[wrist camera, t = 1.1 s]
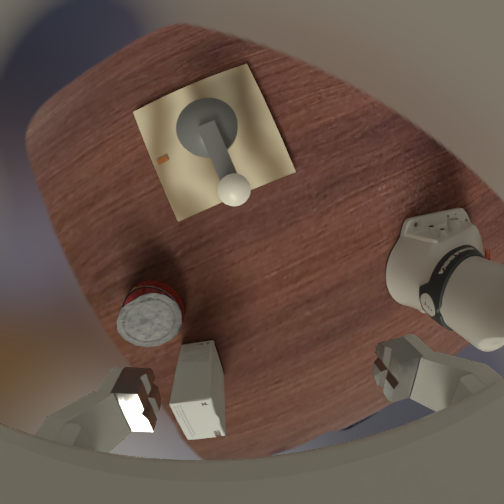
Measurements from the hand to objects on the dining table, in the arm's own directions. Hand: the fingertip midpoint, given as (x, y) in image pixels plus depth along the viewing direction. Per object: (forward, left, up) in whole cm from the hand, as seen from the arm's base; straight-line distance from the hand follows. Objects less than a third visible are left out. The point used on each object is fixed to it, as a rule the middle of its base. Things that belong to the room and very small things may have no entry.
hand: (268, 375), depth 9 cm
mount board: (-1, -14, -34) cm, 37 cm away
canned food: (+18, +6, -34) cm, 39 cm away
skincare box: (+15, +18, -34) cm, 41 cm away
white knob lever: (-1, -11, -27) cm, 29 cm away
